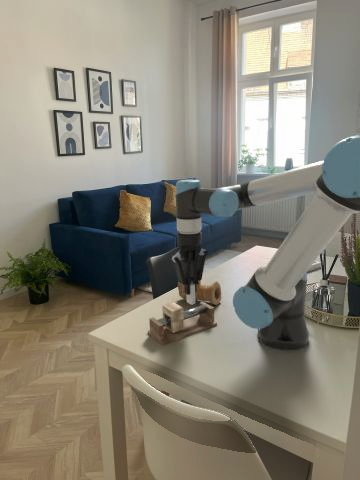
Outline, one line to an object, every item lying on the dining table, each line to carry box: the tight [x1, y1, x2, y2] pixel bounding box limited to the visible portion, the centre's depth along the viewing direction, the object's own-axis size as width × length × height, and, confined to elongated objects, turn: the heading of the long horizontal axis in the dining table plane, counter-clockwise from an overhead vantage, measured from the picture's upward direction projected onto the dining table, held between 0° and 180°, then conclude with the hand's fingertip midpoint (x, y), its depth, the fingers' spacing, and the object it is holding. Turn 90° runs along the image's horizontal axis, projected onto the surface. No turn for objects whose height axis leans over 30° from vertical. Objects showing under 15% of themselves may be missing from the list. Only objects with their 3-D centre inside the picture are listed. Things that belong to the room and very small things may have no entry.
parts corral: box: [307, 260, 322, 273], centre depth 173 cm, size 16×16×2 cm
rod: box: [157, 305, 207, 326], centre depth 116 cm, size 18×3×3 cm, turn 124°
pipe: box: [177, 275, 222, 306], centre depth 136 cm, size 9×16×10 cm, turn 70°
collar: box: [161, 301, 184, 333], centre depth 114 cm, size 4×6×7 cm
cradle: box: [147, 301, 218, 346], centre depth 117 cm, size 21×9×6 cm, turn 124°
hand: (190, 302), depth 117 cm, fingers closed
